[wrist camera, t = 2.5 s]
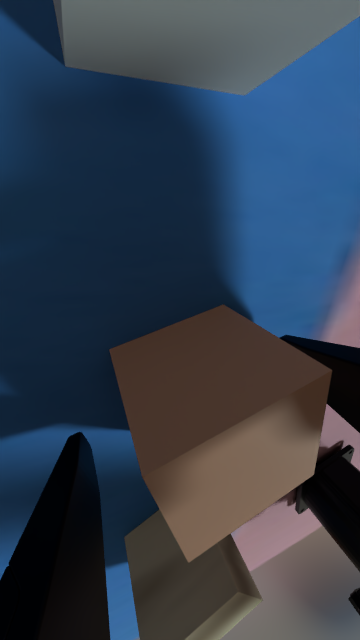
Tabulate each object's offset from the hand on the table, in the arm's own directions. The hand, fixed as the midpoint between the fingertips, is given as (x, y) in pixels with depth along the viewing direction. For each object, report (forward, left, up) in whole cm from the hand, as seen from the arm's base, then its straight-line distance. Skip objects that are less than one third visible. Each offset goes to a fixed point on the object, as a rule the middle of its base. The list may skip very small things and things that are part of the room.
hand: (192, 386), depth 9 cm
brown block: (0, 0, -1) cm, 1 cm away
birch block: (-12, +3, -1) cm, 12 cm away
